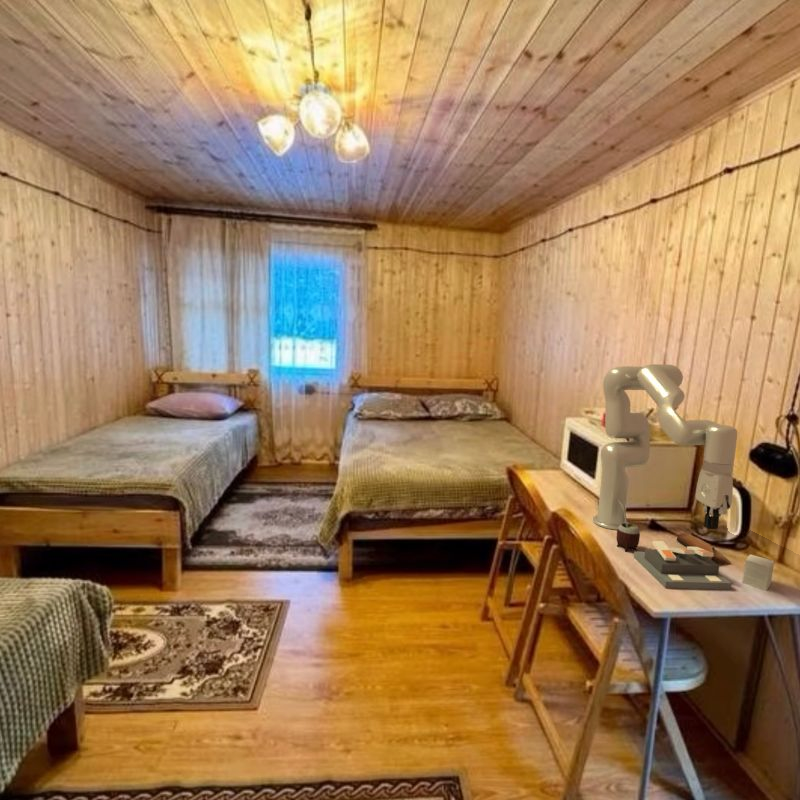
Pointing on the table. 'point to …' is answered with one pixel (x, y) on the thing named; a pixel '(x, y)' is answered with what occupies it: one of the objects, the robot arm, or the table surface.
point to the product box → (758, 572)
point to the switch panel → (686, 578)
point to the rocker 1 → (664, 550)
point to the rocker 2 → (700, 552)
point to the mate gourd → (627, 534)
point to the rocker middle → (682, 551)
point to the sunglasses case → (696, 542)
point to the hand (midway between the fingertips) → (710, 527)
